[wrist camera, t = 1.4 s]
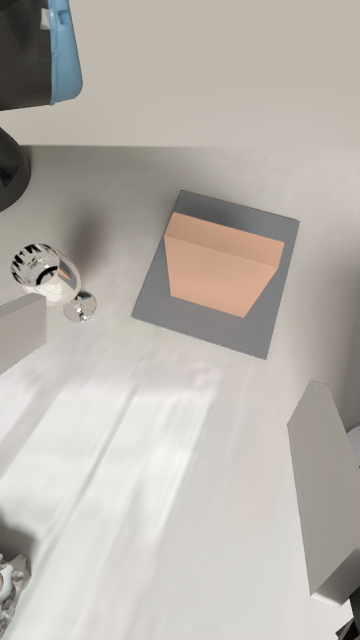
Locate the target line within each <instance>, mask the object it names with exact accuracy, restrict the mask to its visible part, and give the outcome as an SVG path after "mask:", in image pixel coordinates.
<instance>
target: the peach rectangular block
mask: <svg viewBox="0 0 360 640" xmlns="http://www.w3.org/2000/svg"><path fill="white" fill-rule="evenodd" d="M164 239H165V248H166V257H167V266H168V275H169V284H170V293H171V296H173V297H177V298H180V299H183V300H186V301H190V302H193V303H196V304H199V305H203V306H206V307H209V308H213V309H216V310H219V311H222V312H226V313H229V314H232V315H235V316H239V317H242V318H244V317H245V315H246V314H247V313H248V311H249V310H250V308H251V307H252V305H253V304H254V302H255V301H256V299H257V298H258V297H259V295H260V294H261V292H262V291H263V289H264V288H265V286H266V285H267V283H268V282H269V280H270V279H271V278H272V276H273V275H274V273H275V272H276V270H277V269H278V267H279V263H280V259H281V255H282V251H283V247H284V243H285V242H281V241H277V240H274V239H270V238H266V237H263V236H259V235H255V234H252V233H248V232H245V231H241V230H237V229H234V228H230V227H226V226H223V225H219V224H215V223H212V222H208V221H204V220H201V219H197V218H193V217H190V216H186V215H183V214H179V213H175V212H173V214H172V217H171V219H170V222H169V224H168V227H167V229H166V232H165V234H164Z"/></svg>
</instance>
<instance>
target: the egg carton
mask: <svg viewBox="0 0 360 640" xmlns="http://www.w3.org/2000/svg"><path fill="white" fill-rule="evenodd" d="M2 559H3V555H2V554H0V571H1V570H3V569H4V568H5V567H6V566H8V565H11V566H12V567H13V568H14V570H13V571H12V578H11V580H12V583H13V584H14V586H15V589H14V590H13V592H12V593H11V594H10V595H9V596H8V597H7V598H6V599H5V600H4V601H3V602H2V603H1V605H0V640H1V638H2V636H3V634H4V632H5V630H6V629H7V627H8V626H9V625H10V623H11V621H12V619H13V617H14V610H15V608H16V605H17V602H18V599H19V596H20V593H21V592H22V591H23V590H24V588H25V587H26V586H27V585H28V583H29V581H30V578H31V574H30V573H29V572H28V571H27V568H26V561H27V559H26V557H24V556H23V555H22V554H18V555H17V556H16V557H15V558H14V559H13V560H12V561H4V560H2ZM2 588H3V577H2V575H1V574H0V592H1V590H2Z"/></svg>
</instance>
